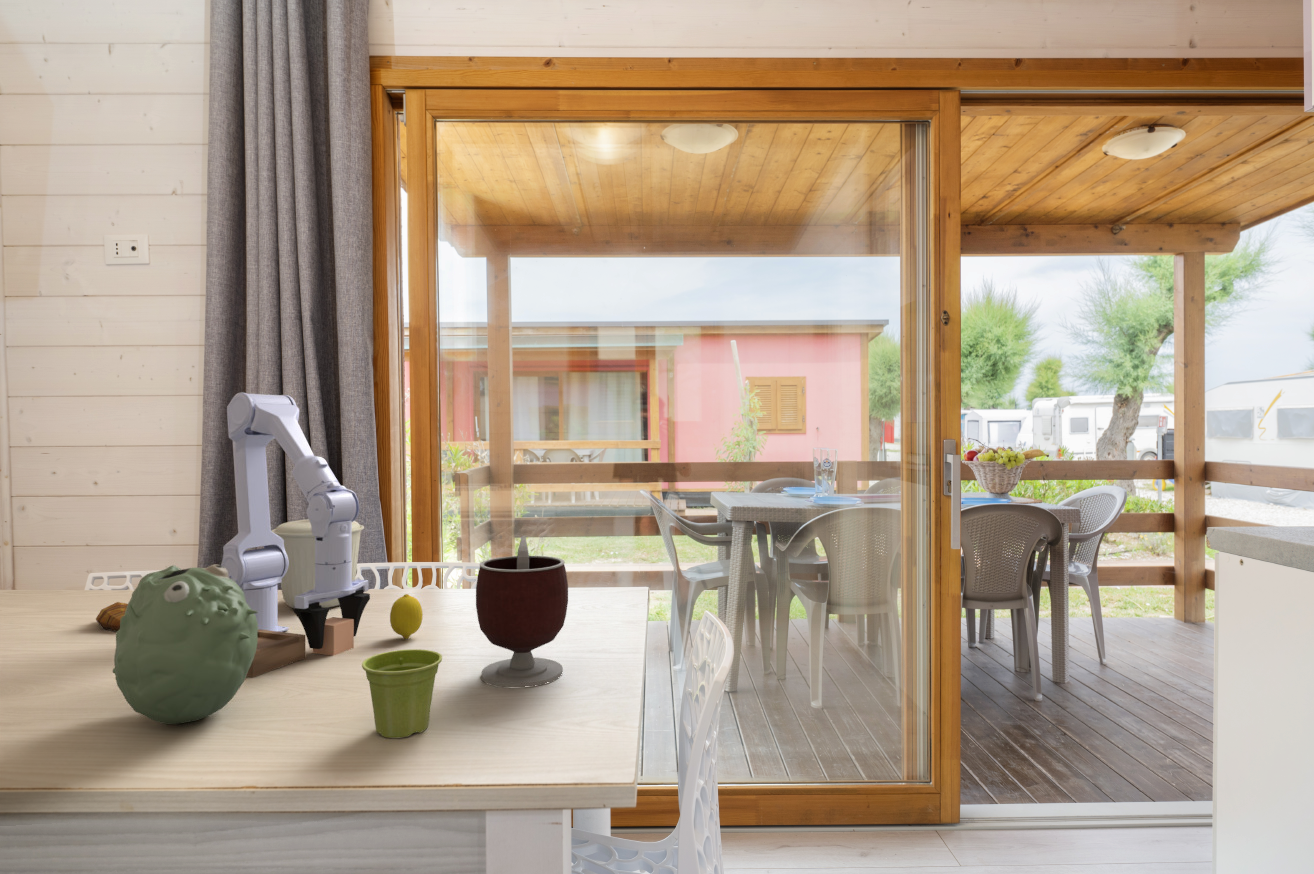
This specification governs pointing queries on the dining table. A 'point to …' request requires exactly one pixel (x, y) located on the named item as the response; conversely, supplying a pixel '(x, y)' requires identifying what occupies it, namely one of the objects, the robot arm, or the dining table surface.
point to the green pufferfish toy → (184, 644)
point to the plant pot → (402, 690)
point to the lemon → (406, 616)
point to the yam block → (337, 636)
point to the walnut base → (276, 651)
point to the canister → (306, 559)
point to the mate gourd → (521, 614)
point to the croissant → (112, 616)
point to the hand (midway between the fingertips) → (333, 641)
